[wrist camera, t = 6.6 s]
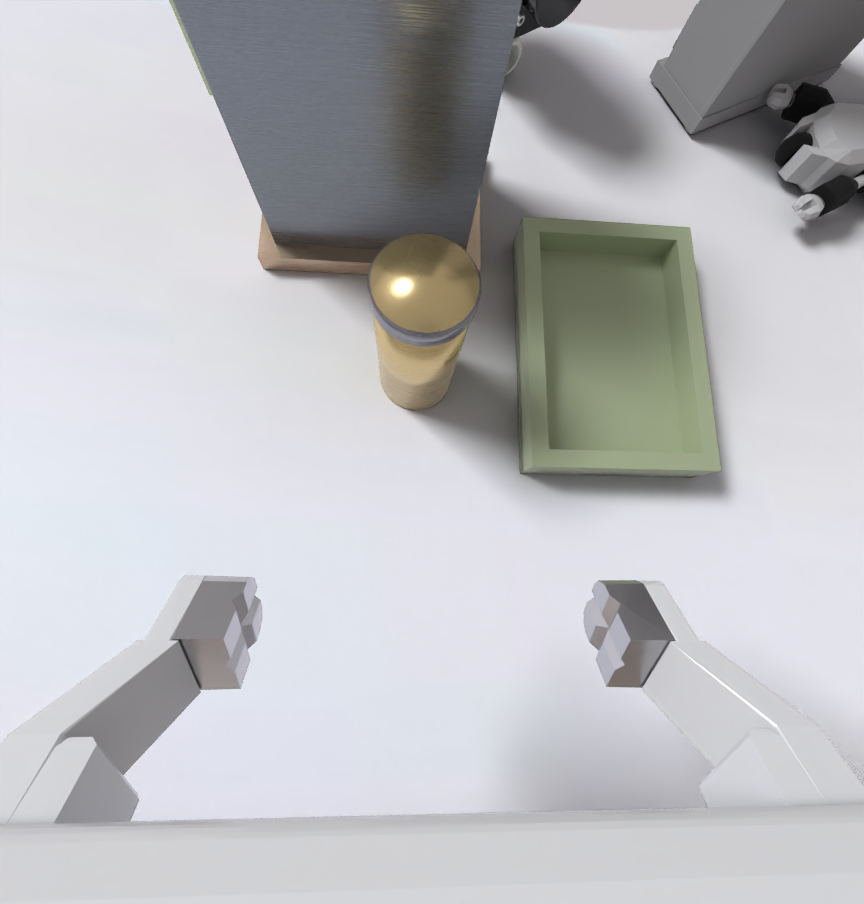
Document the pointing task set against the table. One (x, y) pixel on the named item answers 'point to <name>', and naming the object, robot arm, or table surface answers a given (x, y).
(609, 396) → the olive tray
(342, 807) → the table surface
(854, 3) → the upright grey panel
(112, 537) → the table surface
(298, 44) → the mounted unit
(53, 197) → the table surface
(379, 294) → the cartridge
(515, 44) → the pneumatic valve
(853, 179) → the robot toy
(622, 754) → the table surface
